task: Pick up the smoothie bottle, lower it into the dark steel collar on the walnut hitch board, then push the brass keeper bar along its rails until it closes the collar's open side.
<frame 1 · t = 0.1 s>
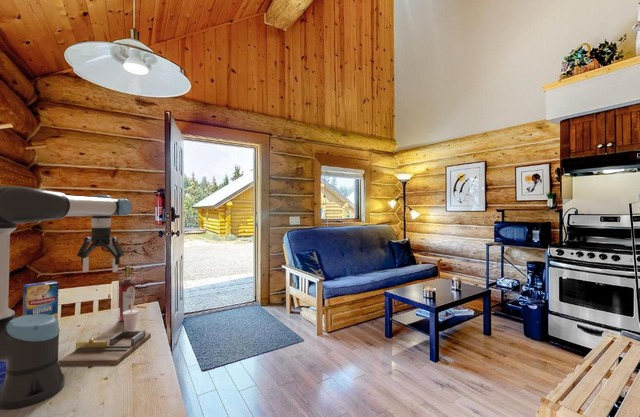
hand: (100, 271, 140), 28 cm above the table, fingers open, 13 cm apart
smoothie: (130, 332, 138), on the table
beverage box: (40, 330, 138), on the table
keeper bar: (91, 344, 117), point 4 cm above the table, slide at 9.5 cm
liquor: (126, 320, 153), on the table
collar: (127, 344, 125), resting on hitch board
hitch board: (109, 349, 121), on the table
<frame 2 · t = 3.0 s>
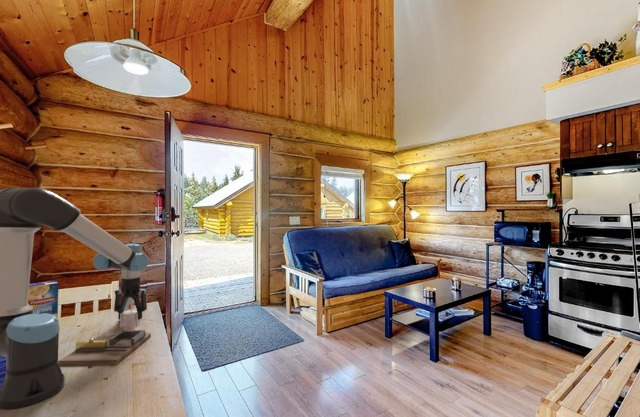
hand: (130, 326, 138), 3 cm above the table, fingers closed on smoothie, 6 cm apart
smoothie: (130, 332, 138), on the table, touching gripper
everything else where it was.
when the fingers open (6 cm above the table, at t = 7.3 s): smoothie drops 1 cm, resting on hitch board.
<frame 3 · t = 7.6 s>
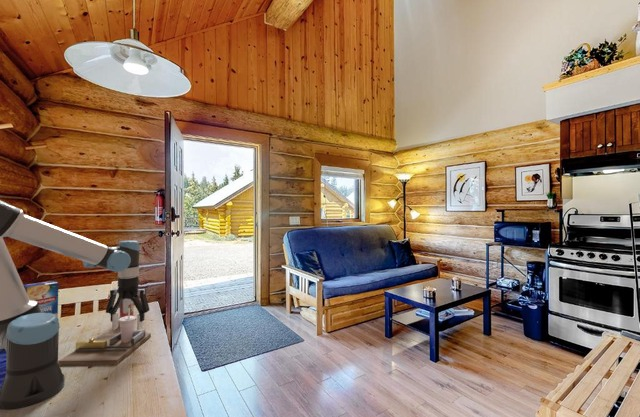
hand: (127, 328, 125), 7 cm above the table, fingers open, 9 cm apart
smoothie: (126, 341, 125), point 1 cm above the table, touching hitch board
everything else where it was.
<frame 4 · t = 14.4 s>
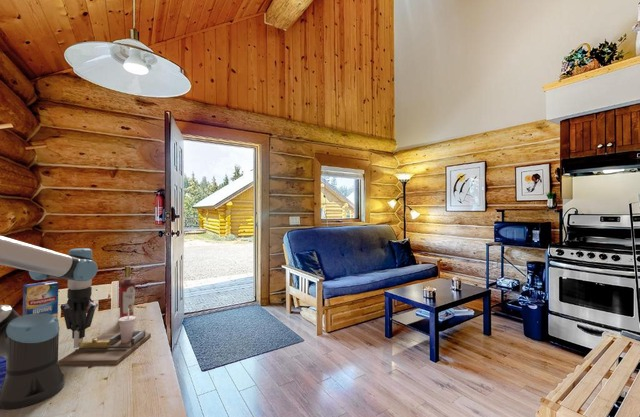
hand: (78, 346, 117), 3 cm above the table, fingers closed
keeper bar: (94, 344, 117), point 4 cm above the table, slide at 8.3 cm, touching gripper
everything else where it was.
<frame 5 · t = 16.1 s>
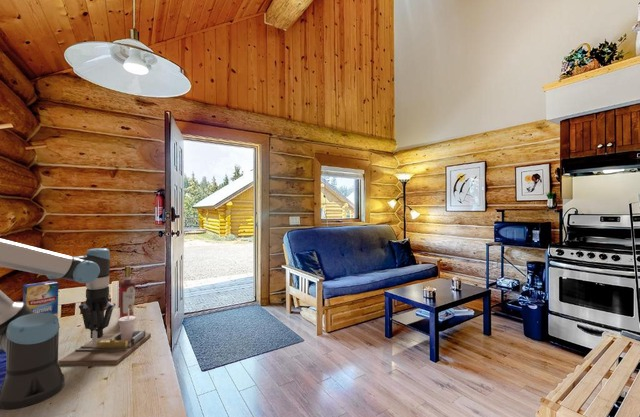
hand: (96, 345, 117), 3 cm above the table, fingers closed
keeper bar: (112, 343, 118), point 4 cm above the table, slide at 1.3 cm, touching gripper
everything else where it was.
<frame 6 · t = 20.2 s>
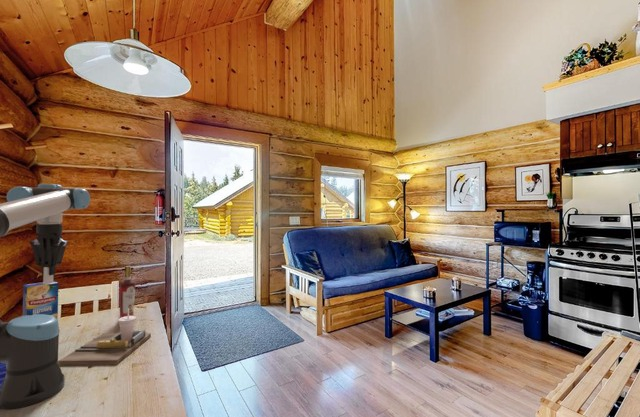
hand: (48, 283, 115), 28 cm above the table, fingers closed
keeper bar: (112, 343, 118), point 4 cm above the table, slide at 1.3 cm
everything else where it was.
at the end: smoothie 0.2 cm from the collar (horizontally); smoothie tilted 0°; keeper bar slide at 1.3 cm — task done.
